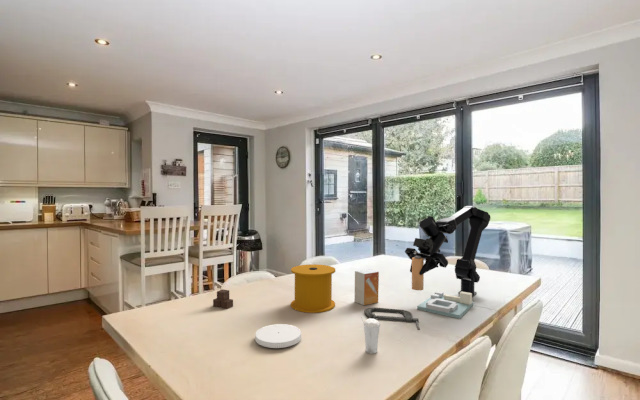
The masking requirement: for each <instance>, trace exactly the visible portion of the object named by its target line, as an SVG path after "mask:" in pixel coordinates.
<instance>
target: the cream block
mask: <svg viewBox="0 0 640 400" xmlns="http://www.w3.org/2000/svg"><path fill="white" fill-rule="evenodd" d="M444 299H446V300H451V301H457V302H460V303H463V304H468V305H470V304H471V303H472V302H473V296H472V293H468V292H460V294H459V296H455V295H451V294H445V293H444Z"/></svg>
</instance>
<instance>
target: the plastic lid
mask: <svg viewBox="0 0 640 400" xmlns="http://www.w3.org/2000/svg"><path fill="white" fill-rule="evenodd" d="M254 340H255V343H257V345H260V346H261V347H265V348H270V349H281V348H287V347H289V348H290V347H292V346H294V345H296V344H298V343H299V342H301V340H302V330H301V329H300V328H299V327H298V326H295V325H291V324H287V323H286V324H285V323H276V324H269V325H265V326H263V327H260V328H258V329H257V330H256V331H255V339H254Z"/></svg>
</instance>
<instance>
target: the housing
mask: <svg viewBox="0 0 640 400" xmlns="http://www.w3.org/2000/svg"><path fill="white" fill-rule="evenodd" d="M444 295H445V293H444V292H443V291H437V290H436V291H435V292H434V293H432V294H430V297H428V298H427V299H425V301H422V302H421V303H420V304H418V305H417V306H416V307H417V308H416V309H417V310H420V311H422V312H424V311H425V312H429V313H432V314H438V315H441V316H442V315H443V316H446V317H452V318H455V319H461V318H462V317H463V316H464V315H465V314H466V313H467V312H468V311H469V310H470V309H471V308H472V307H473V305H474V301H472V303H471V304H470V305H468V304H463V303H460V302H457V301H451V300H446V299H444Z"/></svg>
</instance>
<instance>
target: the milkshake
mask: <svg viewBox="0 0 640 400" xmlns="http://www.w3.org/2000/svg"><path fill="white" fill-rule="evenodd" d="M361 319H363V318H362V316H361ZM362 322H363V331H364V344H365V345H364V347H365V353H367V354H371V355H375V354H377V353H378V344H379V335H380V325H381V324H380V322H379V319H372V318H370V317H368V318H367V319H365V320H363V321H362Z"/></svg>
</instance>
